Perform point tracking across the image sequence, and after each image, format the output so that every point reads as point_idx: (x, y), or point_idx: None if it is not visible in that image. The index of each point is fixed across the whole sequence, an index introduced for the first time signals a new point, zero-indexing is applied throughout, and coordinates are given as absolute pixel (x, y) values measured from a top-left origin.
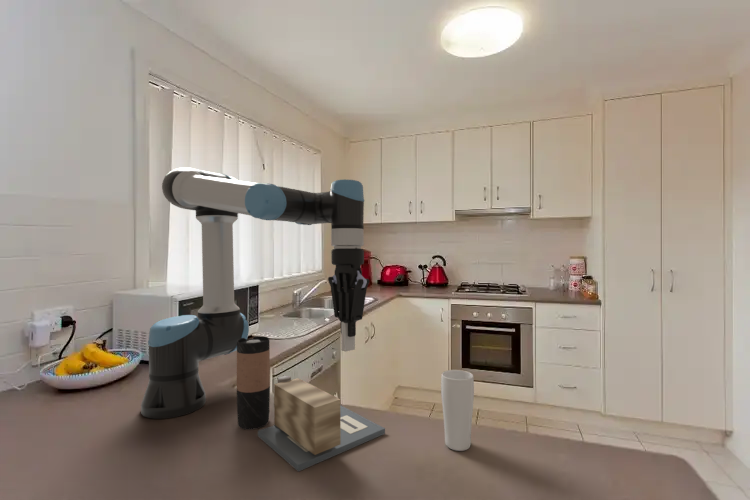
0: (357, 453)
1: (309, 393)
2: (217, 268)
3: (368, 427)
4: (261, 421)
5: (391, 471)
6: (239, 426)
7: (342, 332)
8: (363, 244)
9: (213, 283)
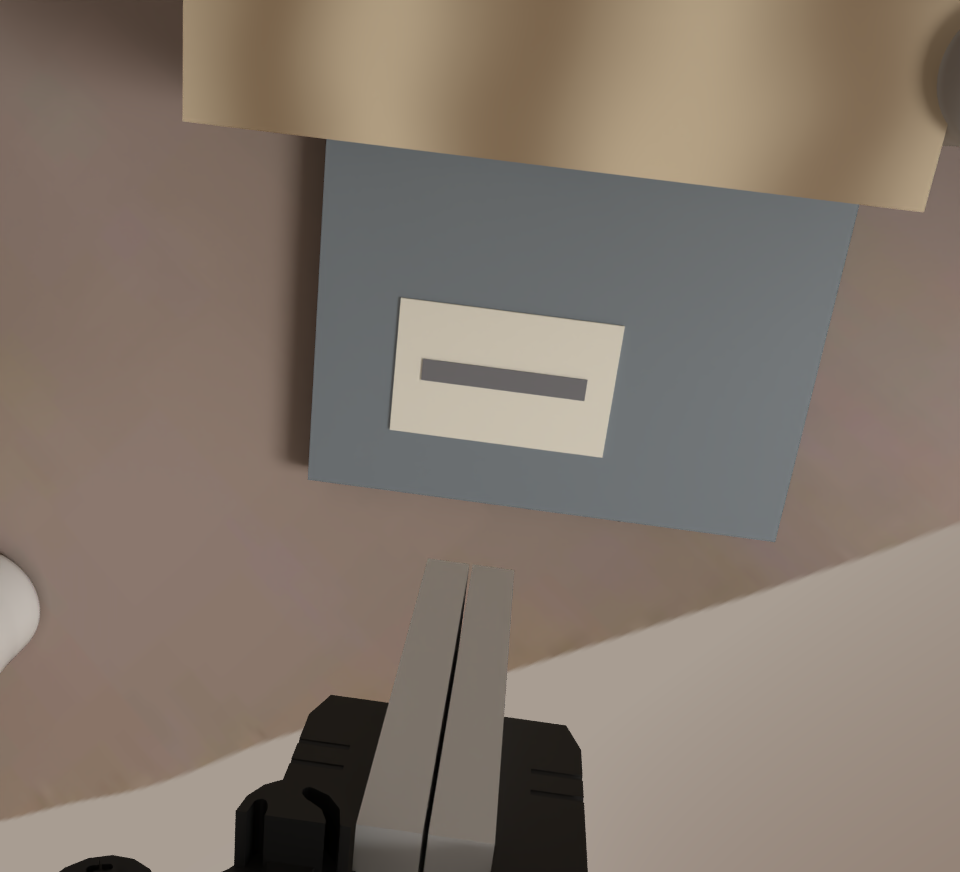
0: (266, 211)
1: (493, 13)
2: None
3: (382, 426)
4: None
5: (22, 205)
6: None
7: (470, 708)
8: None
9: None
